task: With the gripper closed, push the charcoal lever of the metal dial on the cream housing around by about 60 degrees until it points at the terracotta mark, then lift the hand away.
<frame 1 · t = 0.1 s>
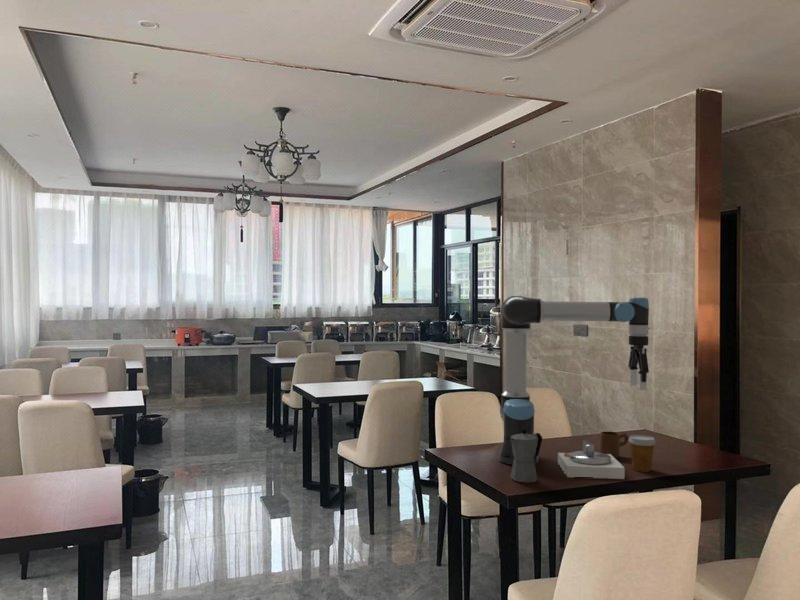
hand: (637, 387, 260), 28 cm above the table, fingers open, 13 cm apart
mug: (614, 456, 261), on the table
coffeepot: (525, 479, 226), on the table
dial: (589, 452, 239), point 7 cm above the table, hinge at 0.0°
dial housing: (589, 470, 238), on the table
disposable coffee cup: (641, 470, 241), on the table
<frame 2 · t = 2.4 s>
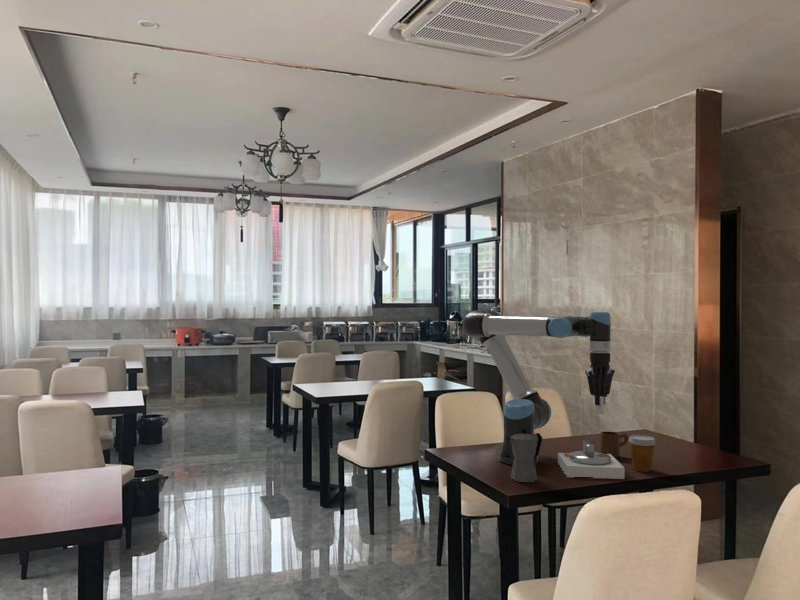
hand: (599, 413, 246), 20 cm above the table, fingers closed
nothing on the table moved.
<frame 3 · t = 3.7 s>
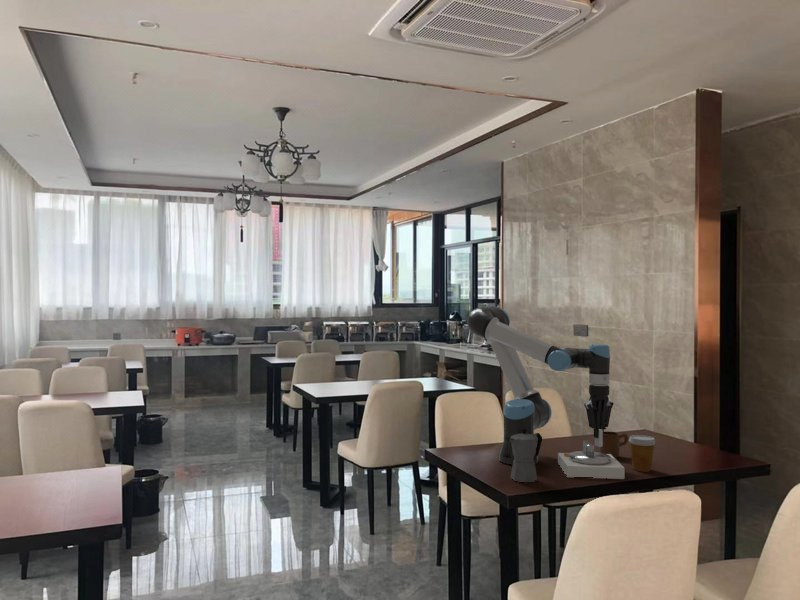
hand: (598, 445, 246), 7 cm above the table, fingers closed
nothing on the table moved.
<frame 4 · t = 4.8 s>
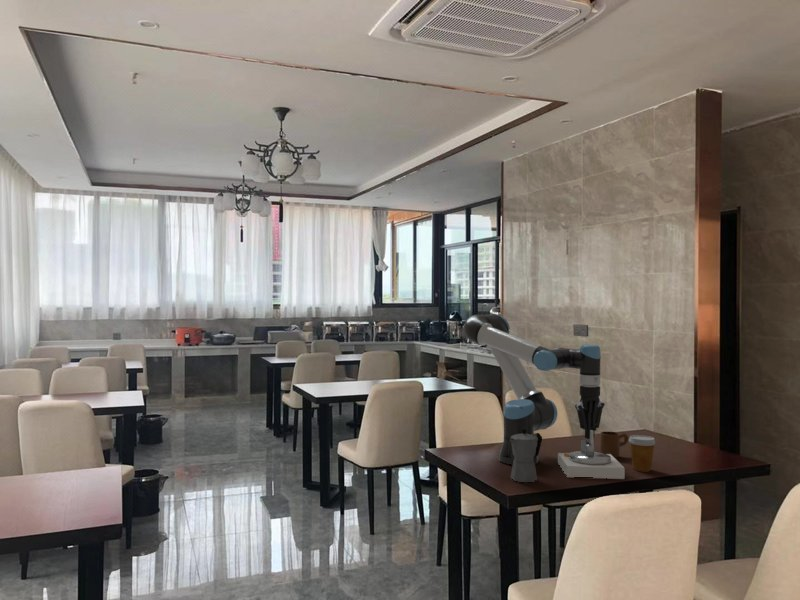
hand: (589, 446, 245), 7 cm above the table, fingers closed
dial: (589, 452, 239), point 7 cm above the table, hinge at 5.4°, touching gripper
everything else where it was.
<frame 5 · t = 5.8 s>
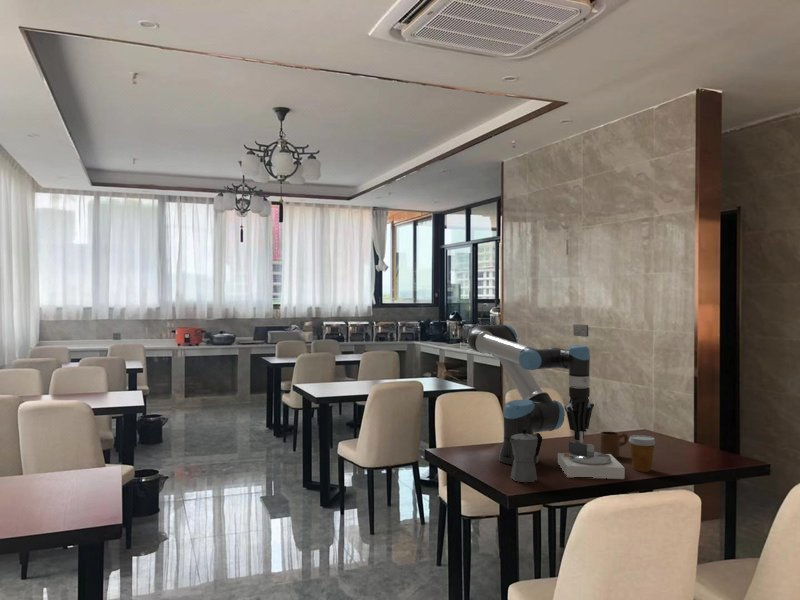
hand: (579, 448, 244), 7 cm above the table, fingers closed
dial: (588, 452, 239), point 7 cm above the table, hinge at 47.0°, touching gripper
everything else where it was.
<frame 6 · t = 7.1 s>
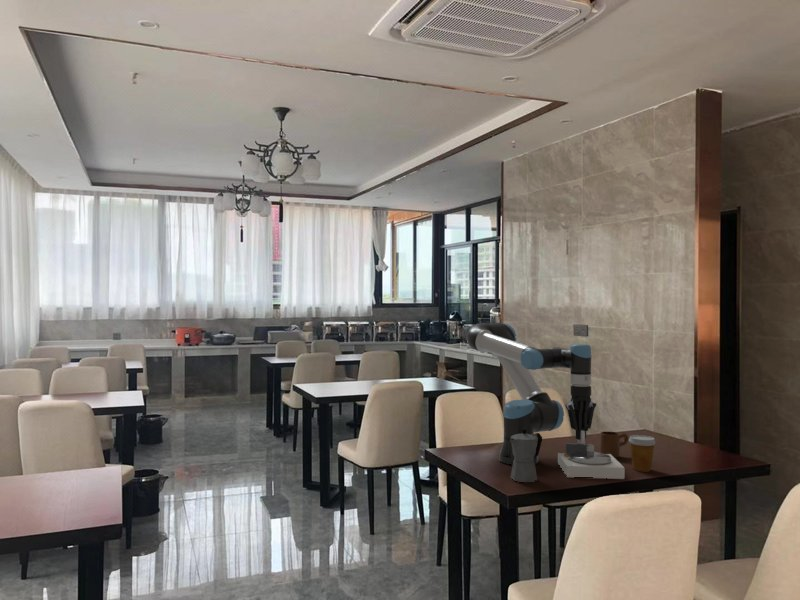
hand: (580, 447, 242), 8 cm above the table, fingers closed
dial: (588, 452, 238), point 7 cm above the table, hinge at 77.1°
everything else where it was.
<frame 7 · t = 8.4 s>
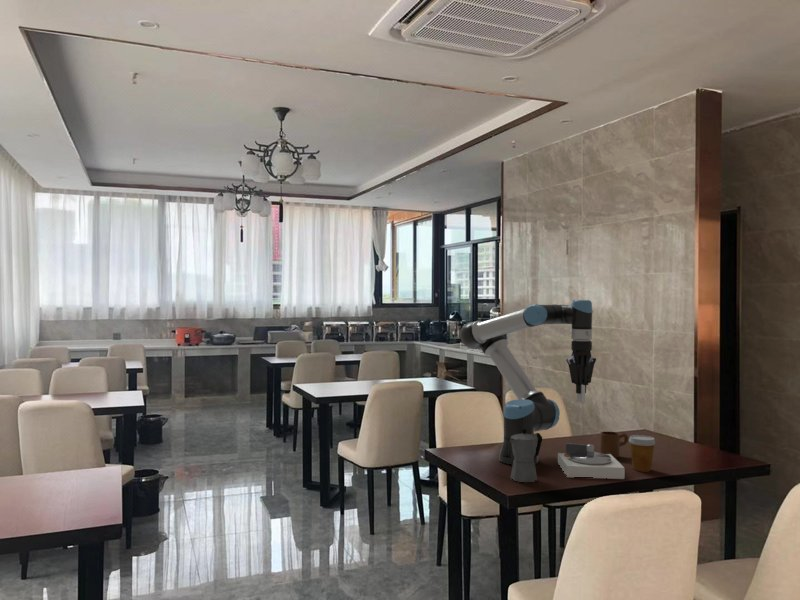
hand: (581, 401, 245), 24 cm above the table, fingers closed
nothing on the table moved.
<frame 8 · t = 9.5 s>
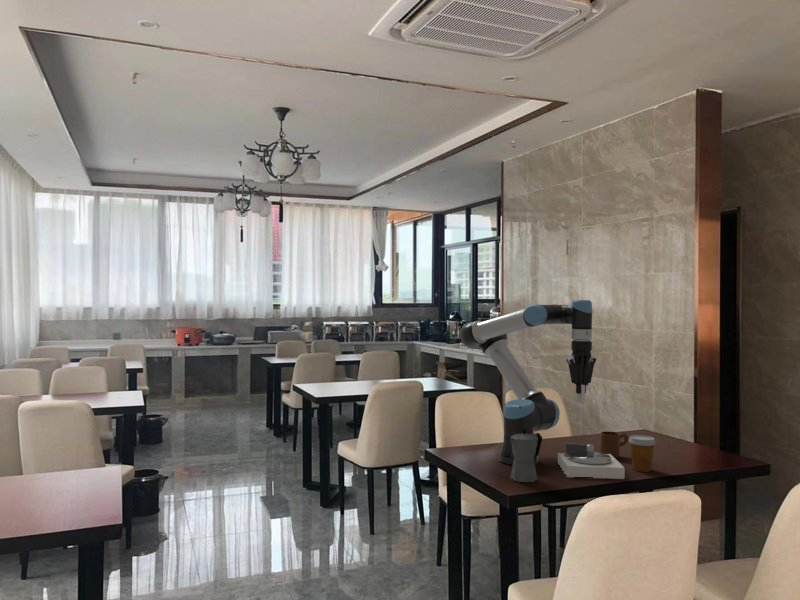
hand: (581, 401, 245), 24 cm above the table, fingers closed
nothing on the table moved.
at the end: dial at +77° (first picture: +0°) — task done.
